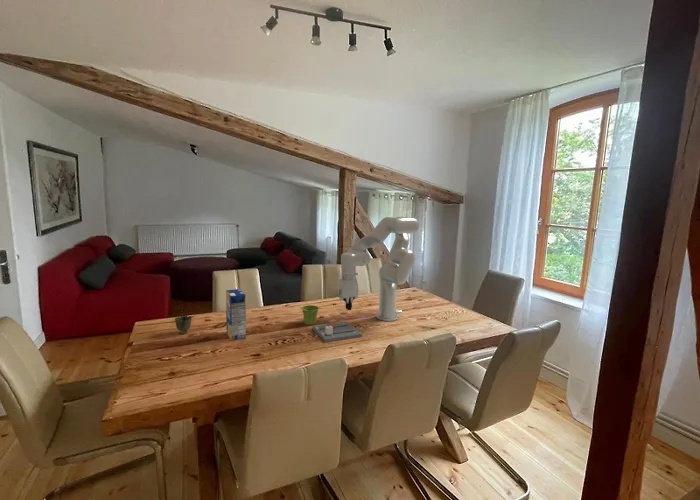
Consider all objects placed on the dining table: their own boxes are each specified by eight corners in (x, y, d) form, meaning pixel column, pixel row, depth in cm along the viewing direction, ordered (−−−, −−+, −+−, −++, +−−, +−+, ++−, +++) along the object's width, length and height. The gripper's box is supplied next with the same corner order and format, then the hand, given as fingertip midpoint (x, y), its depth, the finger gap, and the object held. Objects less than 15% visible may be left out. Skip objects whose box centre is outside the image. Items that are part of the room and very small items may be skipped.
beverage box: (231, 340, 176) (231, 296, 172) (226, 332, 185) (226, 290, 182) (245, 338, 179) (245, 294, 176) (240, 330, 189) (240, 288, 185)
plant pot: (315, 326, 198) (316, 311, 197) (298, 325, 200) (299, 309, 198) (320, 321, 207) (321, 306, 206) (304, 319, 209) (304, 304, 208)
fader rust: (334, 325, 196) (334, 319, 195) (336, 327, 194) (336, 320, 193) (329, 326, 194) (329, 319, 194) (330, 327, 192) (331, 321, 192)
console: (346, 324, 204) (346, 320, 203) (361, 336, 188) (362, 331, 187) (312, 329, 195) (312, 324, 194) (325, 342, 179) (325, 337, 178)
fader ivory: (330, 332, 186) (330, 325, 186) (332, 334, 184) (332, 327, 184) (325, 333, 185) (325, 326, 184) (327, 335, 183) (327, 328, 182)
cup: (195, 331, 185) (194, 316, 184) (184, 336, 178) (183, 321, 177) (183, 329, 187) (182, 314, 186) (172, 334, 180) (171, 318, 179)
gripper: (357, 272, 201) (357, 304, 205) (332, 276, 195) (333, 309, 198) (364, 276, 194) (364, 309, 198) (338, 279, 188) (339, 314, 192)
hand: (348, 309), depth 198 cm, fingers closed
